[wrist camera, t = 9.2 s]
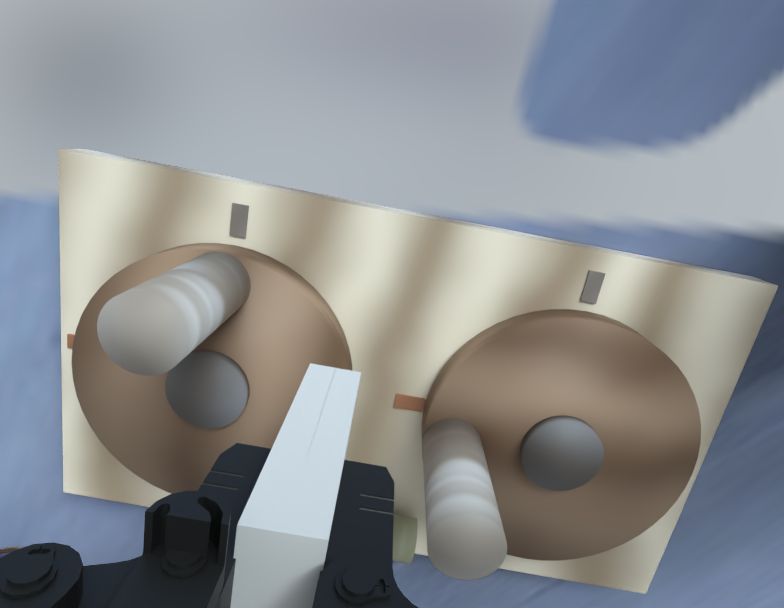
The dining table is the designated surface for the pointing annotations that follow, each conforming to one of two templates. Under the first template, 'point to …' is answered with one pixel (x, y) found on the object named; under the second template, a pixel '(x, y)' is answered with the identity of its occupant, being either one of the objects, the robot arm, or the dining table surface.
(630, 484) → the dial
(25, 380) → the dining table surface
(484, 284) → the base
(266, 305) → the dial
